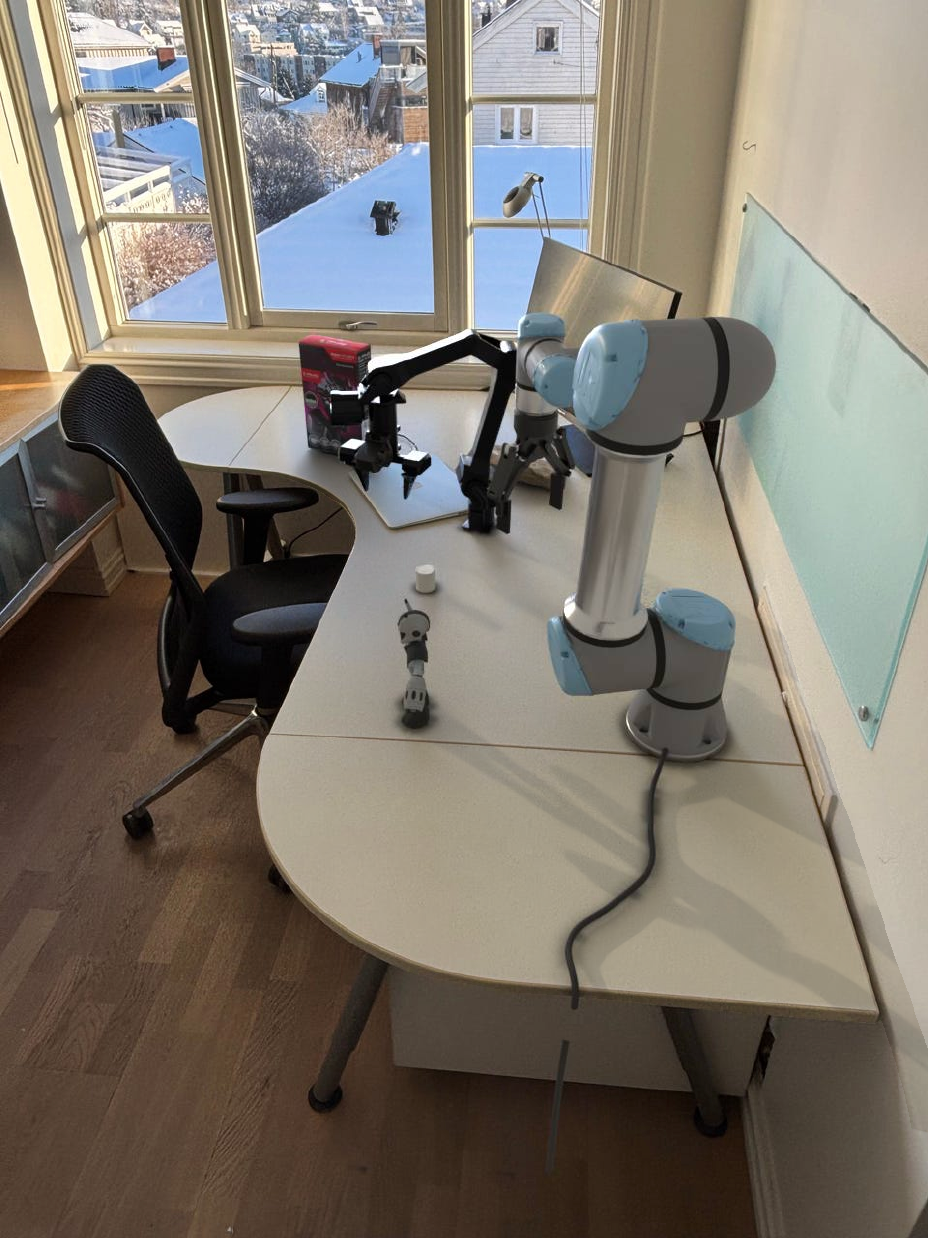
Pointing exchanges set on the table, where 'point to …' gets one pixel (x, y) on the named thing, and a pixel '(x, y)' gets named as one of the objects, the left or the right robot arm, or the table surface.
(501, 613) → the table surface
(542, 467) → the stone
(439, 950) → the table surface
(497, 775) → the table surface
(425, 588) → the can
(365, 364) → the graphics card box
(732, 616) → the right robot arm
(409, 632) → the robot
